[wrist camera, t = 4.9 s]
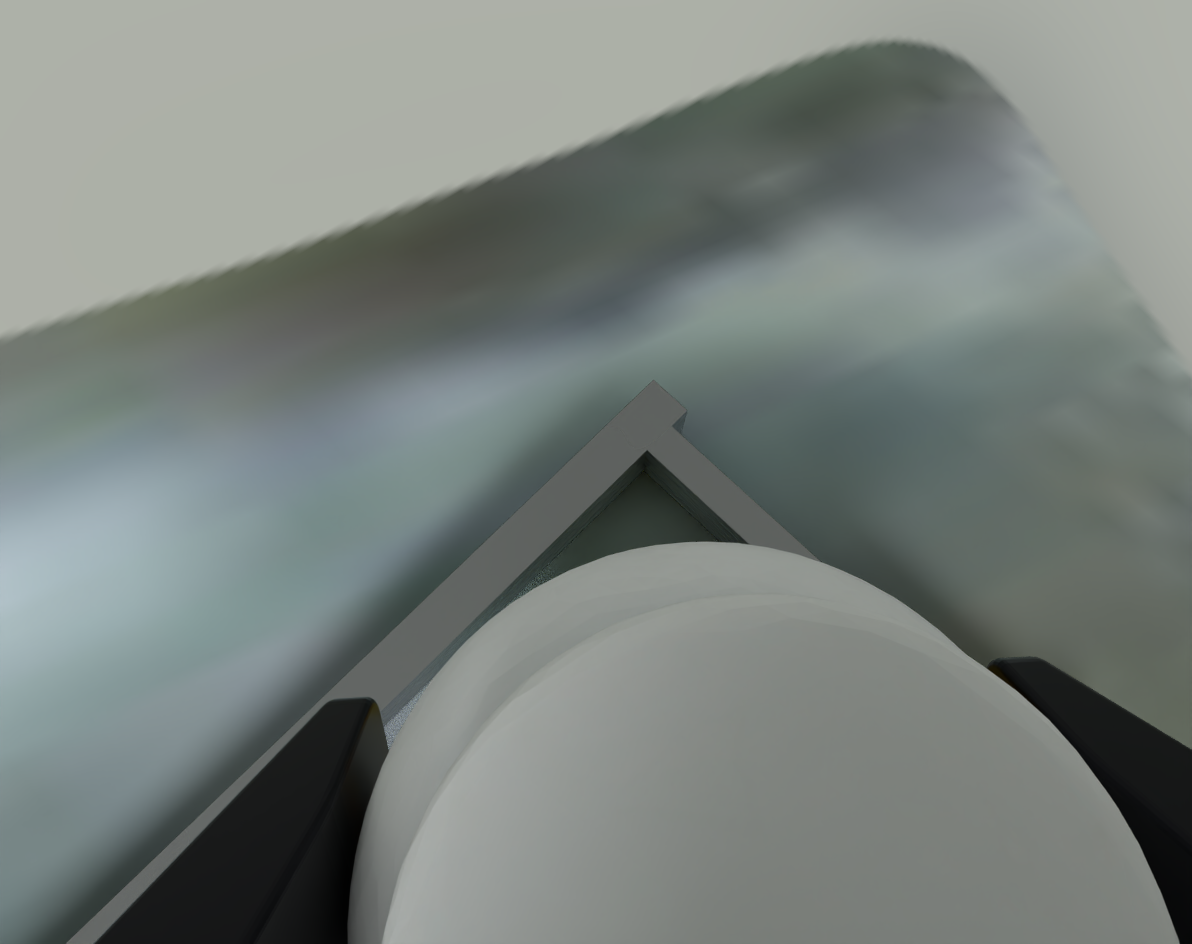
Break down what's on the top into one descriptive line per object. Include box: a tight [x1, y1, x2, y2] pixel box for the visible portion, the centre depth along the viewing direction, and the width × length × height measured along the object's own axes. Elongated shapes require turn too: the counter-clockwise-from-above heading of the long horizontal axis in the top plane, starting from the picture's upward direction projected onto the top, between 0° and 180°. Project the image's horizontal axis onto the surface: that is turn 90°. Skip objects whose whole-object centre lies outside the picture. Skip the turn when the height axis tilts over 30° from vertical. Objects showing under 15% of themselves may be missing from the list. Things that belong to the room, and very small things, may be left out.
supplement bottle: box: [347, 542, 1180, 944], centre depth 9 cm, size 6×6×10 cm
